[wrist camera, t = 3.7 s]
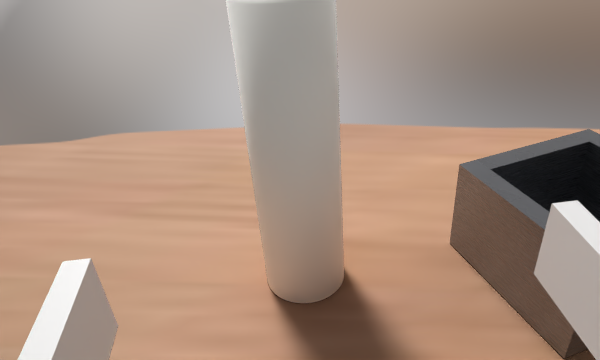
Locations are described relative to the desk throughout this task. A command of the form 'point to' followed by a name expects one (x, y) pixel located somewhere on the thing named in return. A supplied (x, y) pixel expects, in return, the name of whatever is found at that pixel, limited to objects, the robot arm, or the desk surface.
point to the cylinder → (293, 139)
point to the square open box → (524, 221)
